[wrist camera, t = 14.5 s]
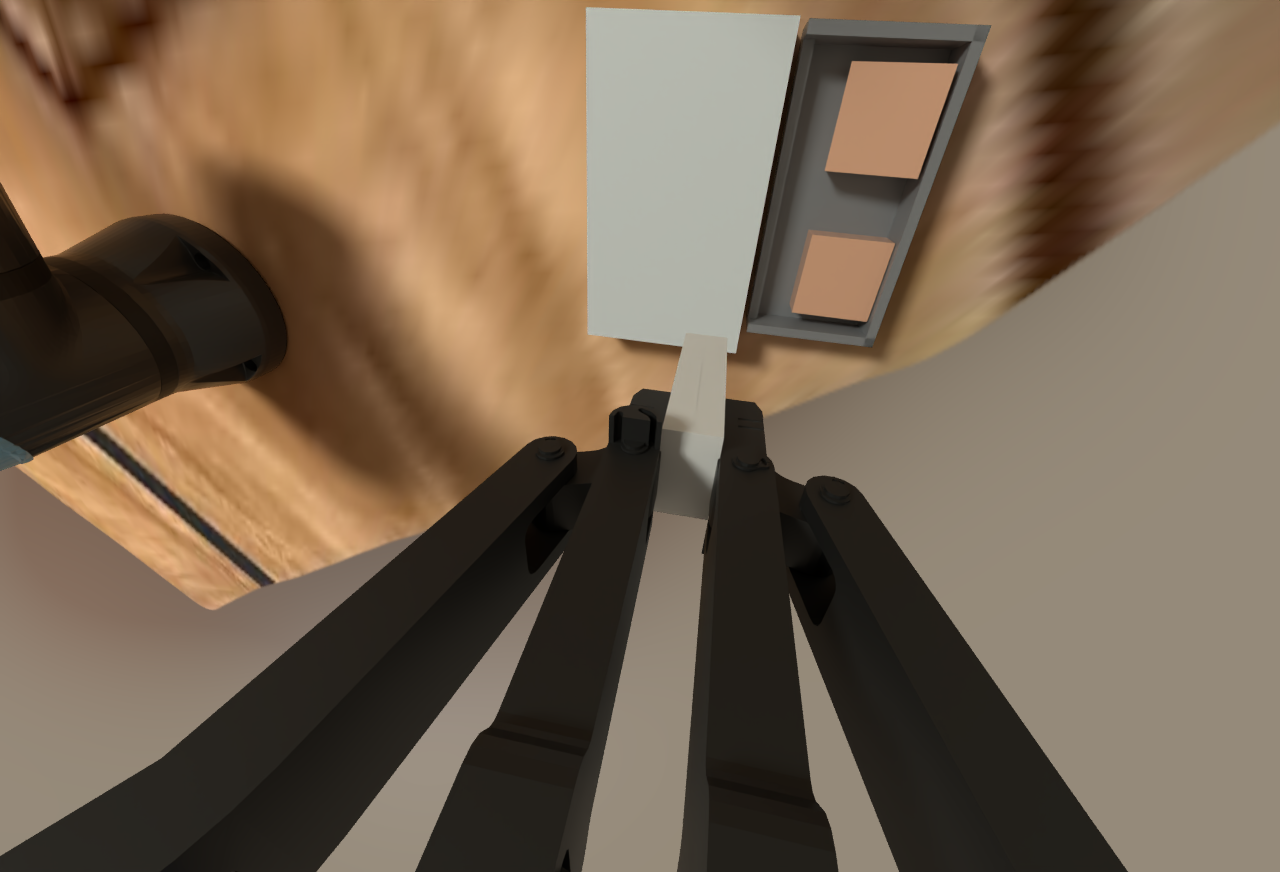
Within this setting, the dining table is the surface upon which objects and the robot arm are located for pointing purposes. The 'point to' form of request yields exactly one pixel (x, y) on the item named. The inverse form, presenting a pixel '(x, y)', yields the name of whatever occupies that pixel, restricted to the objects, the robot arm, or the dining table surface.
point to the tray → (848, 198)
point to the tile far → (840, 274)
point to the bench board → (678, 165)
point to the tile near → (888, 117)
